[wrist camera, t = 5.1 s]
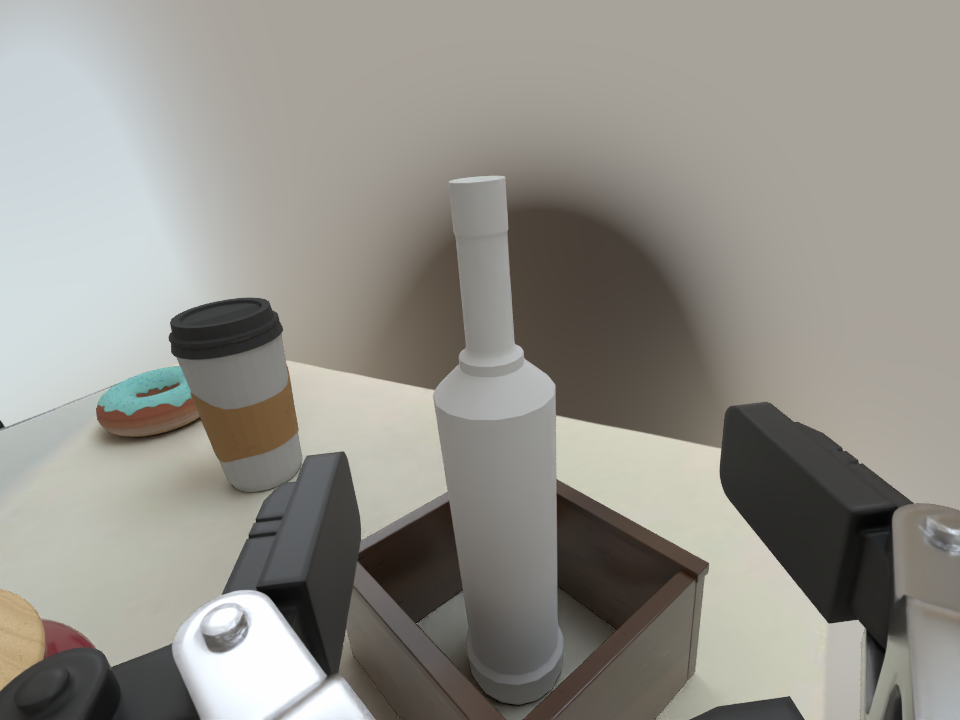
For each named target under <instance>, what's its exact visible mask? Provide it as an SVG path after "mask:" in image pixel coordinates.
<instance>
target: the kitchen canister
mask: <svg viewBox="0 0 960 720" xmlns="http://www.w3.org/2000/svg"><path fill="white" fill-rule="evenodd" d="M81 647H88V648H94V649H96V648H95V646H94V645H93V644H92V643H91V642H90V640H89V639H88V638H86V637H85V636H84V635H83V634H82V633H80V632H78V631H77V630H75V629H73V628H72V627H70V626H67V625H65V624H63V623H59V622H56V621H52V620H47V619H41V618H40V616H39V614H38V613H37V611H36V610H35V609H34V607H33V606H32V605H31V604H30V603H28V602H27V601H26V600H25V599H23V598H22V597H20V596H18V595H16V594H14V593H11V592H9V591H5V590H2V589H0V691H1V690H2V689H3V688H4V687H5V686H6V685H7V684H8V683H9V682H11V681H12V680H13V679H14V678H15V677H17V676H18V675H19V674H21V673H22V672H23V671H25V670H26V669H28V668H29V667H31V666H32V665H34V664H36V663H38V662H39V661H41V660H43V659H45V658H47V657H49V656H52V655H54V654H56V653H59V652H62V651H65V650H69V649H73V648H81Z"/></svg>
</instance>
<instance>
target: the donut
mask: <svg viewBox="0 0 960 720" xmlns="http://www.w3.org/2000/svg"><path fill="white" fill-rule="evenodd" d="M190 393H191V391H190V389H189V386H188V384H187V381H186V379H185V377H184V374H183V372H182V369H181V367H180V366H174V367H167V368H162V369H157V370H153V371H149V372H146V373H143V374H140V375H137V376H134V377H131V378H129V379H127V380H125V381H123V382H121V383H119V384H117V385H115V386H114V387H112V388H111V389H109V390H108V391H107V392H106V393H105V394H103V395H102V397H101V398H100V400H99V402H98V406H97V408H96V413H97V420H98V421H99V423H100V424H101V425H102V426H103V427H104V428H105V429H106V430H107V431H108V432H110V433H113V434H115V435H120V436H129V437H141V436H150V435H156V434H160V433H164V432H168V431H171V430H174V429H177V428H179V427H182V426H184V425H187V424H189V423H191V422H193V421H195V420H196V419H198V418H200V416H199V414H198V411H197V409H196V406H195V404H194V402H193V399H192V397H191V394H190Z"/></svg>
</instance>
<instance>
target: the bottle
mask: <svg viewBox="0 0 960 720" xmlns="http://www.w3.org/2000/svg"><path fill="white" fill-rule="evenodd" d="M449 190H450V201H451V211H452V221H453V230H454V235H455V236H456V245H457V256H458V266H459V276H460V287H461V297H462V308H463V318H464V328H465V338H466V348H465V349H464V350H462V351H461V353H460V355H459V365H458V366H457V367H456V368H455V369H454V370H453V371H452V372H451V373H450V374H449V375H448V376H447V377H446V378H445V379H444V380H443V381H442V382H441V383H440V384H439V385H438V387H437V388H436V390H435V392H434V394H433V398H434V404H435V411H436V417H437V424H438V430H439V437H440V443H441V450H442V456H443V463H444V469H445V476H446V482H447V489H448V495H449V502H450V508H451V515H452V521H453V528H454V534H455V541H456V547H457V554H458V560H459V567H460V573H461V580H462V586H463V593H464V599H465V606H466V612H467V619H468V625H469V631H468V635H467V639H466V648H467V653H468V658H469V663H470V668H471V672H472V674H473V676H474V678H475V680H476V681H477V682H478V684H479V685H480V686H481V688H482V689H483V690H484V692H485V693H486V694H487V695H489V696H491V697H493V698H494V699H496V700H498V701H500V702H501V703H509V704H517V705H521V704H525V703H529V702H532V701H536V700H538V699H539V698H541V697H542V696H543V695H545V694H546V693H547V692H549V691H550V690H551V689H552V687H553V685H554V683H555V682H556V680H557V678H558V676H559V674H560V672H561V669H562V660H563V634H562V631H561V629H560V627H559V624H558V597H557V498H556V402H555V400H556V399H555V384H554V383H553V381H552V380H551V379H550V378H549V376H548V375H547V374H545V373H544V372H542V371H541V370H539V369H538V368H537V367H535V366H534V365H532V364H531V363H529V362H528V361H527V360H525V359H524V352H523V350H522V348H521V347H520V346H518V345H516V344H515V343H514V330H513V315H512V300H511V286H510V271H509V255H508V241H507V230H508V218H507V217H508V216H507V200H506V184H505V177H504V176H481V177H470V178H462V179H456V180H452V181H449Z"/></svg>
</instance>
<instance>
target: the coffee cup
mask: <svg viewBox="0 0 960 720" xmlns="http://www.w3.org/2000/svg"><path fill="white" fill-rule="evenodd" d="M170 324H171V329H172V333H170V335H169V341H170V342H171V352H172V354H173V355H174V356H175V357H177V360H178V362H179V364H180V367H181V369H182V372H183V374H184V377H185V379H186V381H187V384H188V386H189V389H190V391H191V393H190V394H191V397H192V399H193V402H194V404H195V406H196V409H197V411H198V414H199V416H200V418H201V421H202V423H203V426H204V428H205V430H206V433H207V435H208V438H209V440H210V442H211V445H212V447H213V450H214V452H215V454H216V456H217V458H218V460H219V461H220V464H221V466H222V468H223V471H224V473H225V476H226V478H227V480H228V481H229V483H230V484H232V485H234V487H235V488H236V489H238V490H240V491H245V492H258V491H264V490H268V489H271V488H274V487H277V486H279V485H281V484H282V483H285V482H286V481H288V480H290V479H291V478H292V477H293V476H294V475H295V474H296V473H297V472H298V470H299V468H300V464H301V461H302V453H301V448H300V442H299V436H298V431H299V430H298V424H297V418H296V412H295V406H294V400H293V394H292V388H291V382H290V376H289V371H288V367H287V365H286V359H285V354H284V348H283V341H282V335H281V333H282V331H283V328H282V325H281V323H280V322H279V317H278V314H277V313H276V312H274V311H272V309H271V306H270V303H269V301H267V300H265V299H261V298H237V299H229V300H223V301H218V302H213V303H209V304H204V305H201V306H198V307H194V308H191V309H189V310H187V311H184V312H182V313H180V314H178V315H176V316H175V317H174V318H172V319H171V322H170Z"/></svg>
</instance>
